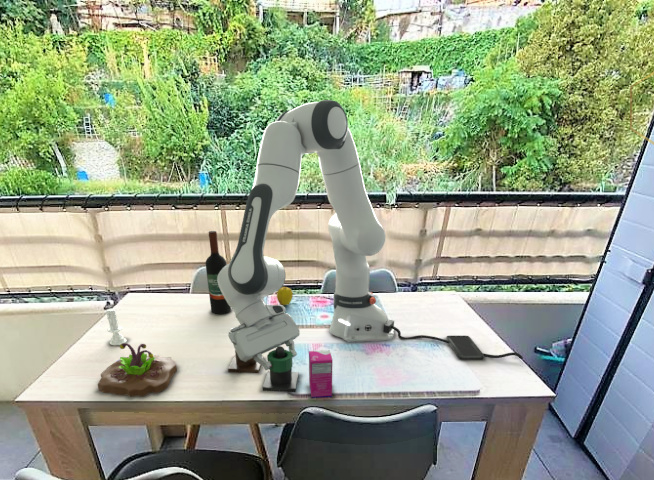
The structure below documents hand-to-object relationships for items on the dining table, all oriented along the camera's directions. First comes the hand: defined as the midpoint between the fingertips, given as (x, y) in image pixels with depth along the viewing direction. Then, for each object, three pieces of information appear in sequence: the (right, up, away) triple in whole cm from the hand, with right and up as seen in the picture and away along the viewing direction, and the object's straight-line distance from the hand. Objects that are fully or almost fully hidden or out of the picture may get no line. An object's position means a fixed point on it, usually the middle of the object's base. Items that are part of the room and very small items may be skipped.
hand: (282, 362), depth 113 cm
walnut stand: (-11, -1, +13) cm, 17 cm away
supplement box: (+10, -8, 0) cm, 13 cm away
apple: (-2, +25, +56) cm, 61 cm away
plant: (-41, -4, +6) cm, 42 cm away
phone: (+58, +5, +22) cm, 62 cm away
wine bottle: (-27, +21, +50) cm, 61 cm away
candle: (-56, +7, +26) cm, 63 cm away
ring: (-1, -1, +1) cm, 2 cm away
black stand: (0, -6, +4) cm, 7 cm away
